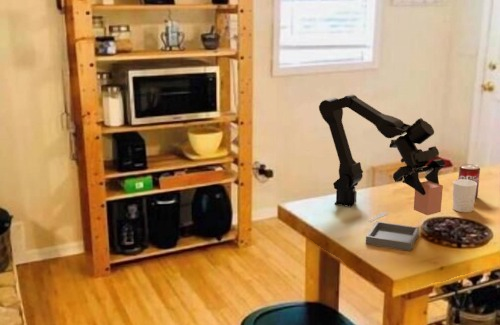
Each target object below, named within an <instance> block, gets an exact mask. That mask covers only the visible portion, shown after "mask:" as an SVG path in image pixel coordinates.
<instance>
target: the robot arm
mask: <svg viewBox="0 0 500 325" xmlns="http://www.w3.org/2000/svg"><path fill="white" fill-rule="evenodd" d="M319 103H320V104H319V105H318V110H319V113H320V116H321V118H322V119H323V120H324V122H325V123H326V124H327V125H328V128H329V131H330V134H331V138H332V141H333V144H334V147H335V151H336V154H337V157H338V161H339V166H338V175H339V176H338V177H339V178H338V179H337V180H335V181H334V182H333V183H332V184H333V188H334V190H335V191H336V193H335V194H336V198H335V199H336V200H335V202H334V205H336V206H337V205H339V206H344V207H350V208H351V207H353V206H354V205H355V204H356V202H357V190H356V186H358V185H359V183H360V182H361V181H362V179H363V173H364V170H363V169H362V165H361V162H356V161H355V159H354V157H353V154H352V152H351V151H352V150H351V148H350V145H349V141H348V138H347V134H346V130H345V128H344V125H343V124H344V123H343V116H344V110H343V109H345V108H347V109H350V110H351V111H353V112H354V113H356V114H358V115H359V116H361V117H362V118H364V119H365V120H366V121H368V122H370V123H371V124H373V125H374V126H375V128H376V129H377V131H378V132H379V133H380V134H381V135H382V136H384V137H385V138H386V139H391V140H390V144H389V147H388V148H391V149H396V150H397V151H398V153H399V155H400V156H401V159H400V162H401V163H402V164H403V163H404V164H405V165H404V166H400V167H398V169H397V170H395V171H394V172H393V174H392V179H393V180H394V182H395V183H399V182H402V183H403V184H406V185H407V186H409V187H411V189H414V191H415V190H416V191H418V192H419V193H421V194H422V195H425V194H426V193H425V190H424V188H423V186H422V184H421V182H422V181H421V180H420V178H419V173H421V174H422V173H424V172H425V176H424V178H425V179H426V181H431V182H434V183H437V184H440V182H439V172H440V170H442V169H443V168H445V166H446V165H447V164H446V163H445V161H444V159H442V158H437V157H438V156H439V155H440V152H439V149H438V147H436V146H434V145H433V146H430V147H428V149H427V150H422V149H421V148H420V149H418V147H417V145H422V144H423V143H424V142H426V141H427V140H428V139H430V138H431V137H432V136H433V135H434V134H435V130H434V128H433V126H432V125H431V124H430V123H428V122H427V121H426V120H424V119H423V118H422V117H420V118H418V119H416V120H415V122H414V123H412V124H408V123H405V122H404V121H403V120H401V119H399V118H397V117H394V116H392V115H388V114H385V113H383V112H380V110H378V109H376V108H375V107H373V106H372V105H371V104H368V103H366V101H364V100H361V99H360V98H359V97H357V95H355V94H348V95H345V96H344V97H342V98H337V97H332V98H331V97H330V98H328V99H324V100H322V101H321V102H319ZM396 137H397V138H396ZM393 138H396V139H393ZM416 144H417V145H416ZM431 160H432V161H431Z"/></svg>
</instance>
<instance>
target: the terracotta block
mask: <svg viewBox="0 0 500 325" xmlns="http://www.w3.org/2000/svg"><path fill="white" fill-rule="evenodd" d="M420 182H421V184H422V186H423V188H424V190H425V193H426V194H425V195H422V194H421V193H419V192H418V191H416V190H415V189H414V197H413V198H414V200H413V211H415V212H418V213H420V214H423V215H425V216H430V215H435V214H438V213H441V212H442V200H443V188H444V187H443V186H444V185H442V184H440V183H439V184H437V183H434V182H431V181H427V180H426V181H420Z"/></svg>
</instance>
